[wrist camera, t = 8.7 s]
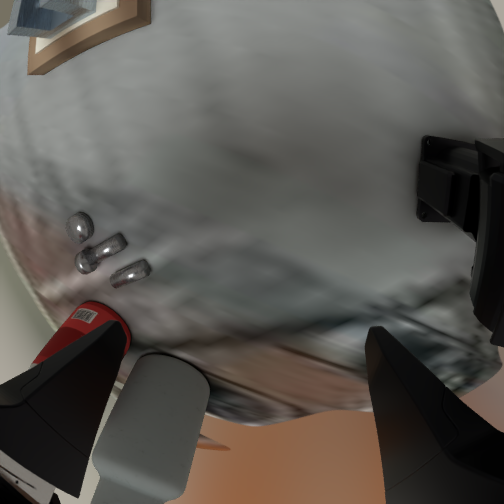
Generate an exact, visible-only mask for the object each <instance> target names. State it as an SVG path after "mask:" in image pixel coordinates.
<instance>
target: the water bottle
mask: <svg viewBox="0 0 504 504" xmlns="http://www.w3.org/2000/svg"><path fill="white" fill-rule="evenodd" d="M209 395H210V388H209V384H208V382H207V380H206V379H205V377H204V376H203V375H202V374H201V373H200V372H199V371H198V370H196V369H195V368H194V367H192V366H190V365H189V364H187V363H185V362H183V361H181V360H179V359H176V358H173V357H169V356H165V355H147V356H144V357H142V358H140V359H139V360H138V361H137V362H136V363H135V365H134V367H133V369H132V371H131V373H130V375H129V377H128V379H127V381H126V383H125V385H124V387H123V389H122V391H121V393H120V395H119V397H118V399H117V401H116V403H115V405H114V407H113V409H112V411H111V413H110V415H109V418H108V420H107V422H106V424H105V426H104V428H103V431H102V433H101V435H100V437H99V439H98V441H97V444H96V446H95V448H94V450H93V454H92V462H93V465H94V467H95V468H96V470H97V471H98V473H99V475H100V480H99V483H98V485H97V488H96V490H95V493H94V496H93V498H92V501H91V504H164V503H165V502H167V501H169V500H173V499H176V498H178V497H180V496H181V495H182V494H183V493H184V491H185V488H186V484H187V481H188V476H189V473H190V469H191V465H192V461H193V457H194V453H195V449H196V445H197V441H198V438H199V434H200V429H201V426H202V422H203V418H204V414H205V411H206V407H207V403H208V399H209Z"/></svg>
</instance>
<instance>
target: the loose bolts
mask: <svg viewBox="0 0 504 504" xmlns="http://www.w3.org/2000/svg"><path fill="white" fill-rule="evenodd" d="M93 230H94V228H93V223H92V221H91V219H90V217H89V216H88V215H87V214H85V213H83V212H79V213H77V214H75V215H73V216H72V217H70V218H69V219H68V220H67V222H66V231H67V234H68V236H69V237H70V239H71V240H72V241H73V242H75V243H78V244H81V243H83V242H84V241H86V240H87V239H88V238H90V237H91V236H92V234H93ZM125 247H126V241H125V239H124V237H123V236H122V235H120V234H117V235H115V236H113V237H112V238H110V239H108V240H106V241H105V242H103V243H101V244H100V245H98V246H96V247H95V248H93V249H91V250H90V249H84V250H82V251H81V252H79V253H78V254H77V255H76V256H75V266H76V268H77V270H78V271H79V272H80V273H82V274H89V273H91V272H93V271H95V270H96V268H97V266H98V263H99V262H101V261H102V260H104V259H106V258H108V257H110V256H112V255H114V254H116V253H118V252H120V251H122V250H124V249H125ZM149 275H150V267H149V265H148V263H147V262H145V261H140V262H138V263H136V264H133V265H131V266H129V267H127V268H125V269H122V270H120V271H118V272H116V273H114V274H112V275H111V276H110V283H111V285H112V286H113V287H114V288H119V287H122V286H124V285H127V284H129V283H132V282H134V281H137V280H139V279H142V278H144V277H147V276H149Z"/></svg>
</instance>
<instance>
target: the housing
mask: <svg viewBox="0 0 504 504" xmlns="http://www.w3.org/2000/svg"><path fill="white" fill-rule="evenodd" d="M96 2H97V0H14V4H13V8H12V12H11V17H10V22H9V27H8V33H7V35H18V36H30V37H39V38H47V39H51V38H53V37H54V36H56V35H57V34H59V33H60V32H62V31H64V30H65V29H67V28H68V27H70V26H72V25H73V24H75V23H77V22H79V21H80V20H82V19H84V18H86V17H88V16H89V15H91V14H93V13H95V12H96Z"/></svg>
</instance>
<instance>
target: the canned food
mask: <svg viewBox="0 0 504 504" xmlns="http://www.w3.org/2000/svg"><path fill="white" fill-rule="evenodd" d="M108 320H118V321H120V322H121V324H122V326H123V329H124V331H125V333H126V335H127V344H126V347H125V350H124V354H123V357H122V359H123V358H124V356H125V354H126V352H127V351H128V349H129V346H130V340H131V335H130V332H129V329H128V327H127V325H126V324H125V322H124V321H123V320H122V319H121V318H120V316H119V315H117V314H116V313H115V312H114V311H113V310H111V309H110V308H108V307H107V306H105V305H103V304H100V303H97V302H86V303H84V304H82V305H80V306H78V307H77V308H76V310H75V311H74V312H73V313H72V314H71V315H70V316H69V318H68V319H67V320H66V321H65V322H64V323H63V325H62V326H61V327H60V328H59V329H58V331H57V332H56V333H55V334H54V335H53V337H52V338H51V339H50V340H49V342H48V343H47V344H46V345H45V347H44V348H43V349H42V350H41V352H40V353H39V354H38V356H37V357H36V359H35V360H34V361H33V363H32V364H31V366H30V368H29V369H31V368H32V367H34V366H36V365H37V364H39V363H40V362H42V361H44V360H45V359H47V358H48V357H50V356H52V355H53V354H55V353H56V352H58V351H60V350H61V349H63V348H64V347H66V346H68V345H69V344H71V343H73V342H74V341H76V340H77V339H79V338H81V337H82V336H84V335H86V334H87V333H89V332H90V331H92V330H94V329H95V328H97V327H99V326H100V325H102V324H103V323H105V322H107V321H108ZM29 369H28V370H29Z"/></svg>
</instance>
